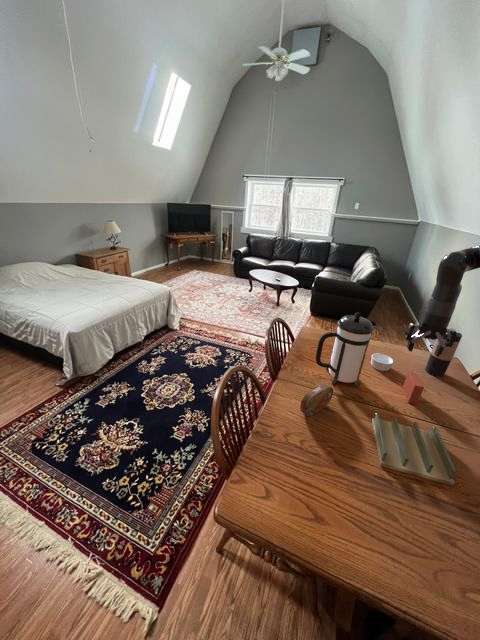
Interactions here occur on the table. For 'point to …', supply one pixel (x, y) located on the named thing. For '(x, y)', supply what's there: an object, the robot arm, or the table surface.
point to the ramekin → (381, 362)
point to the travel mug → (442, 357)
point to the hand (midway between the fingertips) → (423, 352)
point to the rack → (413, 450)
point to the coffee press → (347, 348)
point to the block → (413, 387)
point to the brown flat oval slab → (316, 399)
